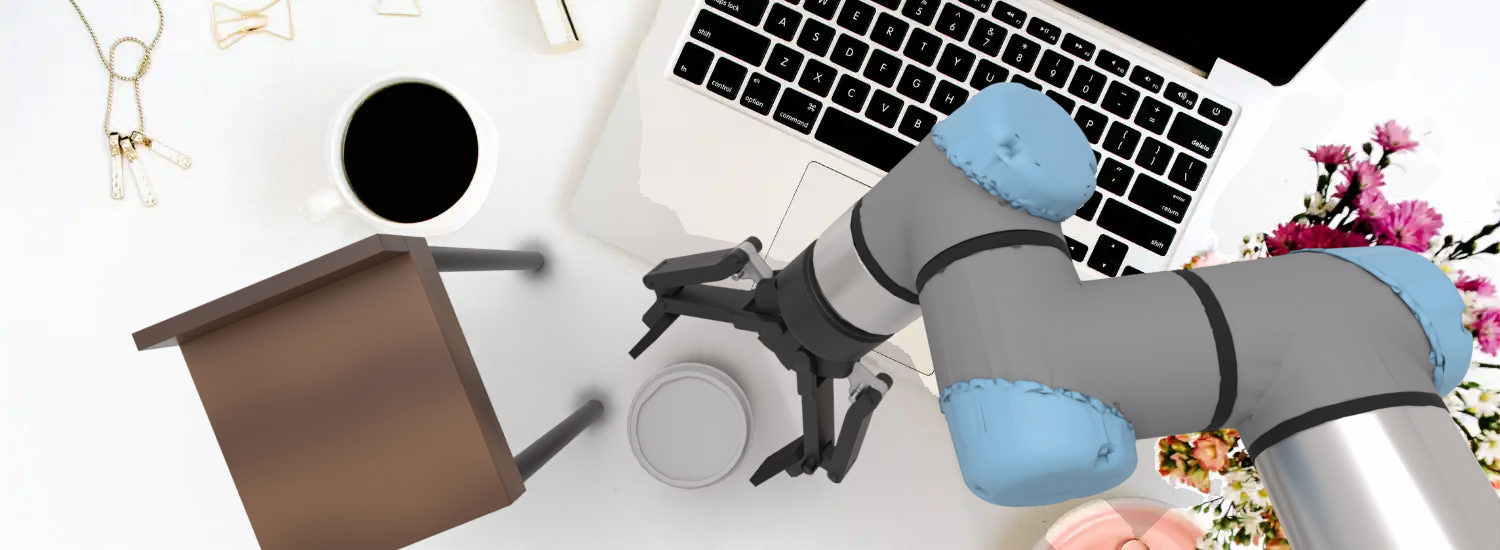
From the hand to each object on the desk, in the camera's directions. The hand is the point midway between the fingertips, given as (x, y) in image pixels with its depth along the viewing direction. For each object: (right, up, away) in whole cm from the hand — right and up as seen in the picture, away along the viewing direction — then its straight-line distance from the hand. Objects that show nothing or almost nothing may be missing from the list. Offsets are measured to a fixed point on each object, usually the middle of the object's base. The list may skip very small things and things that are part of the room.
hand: (701, 409), depth 67 cm
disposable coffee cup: (0, -1, +8) cm, 8 cm away
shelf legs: (-18, +3, +8) cm, 20 cm away
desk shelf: (-19, +3, -17) cm, 25 cm away
